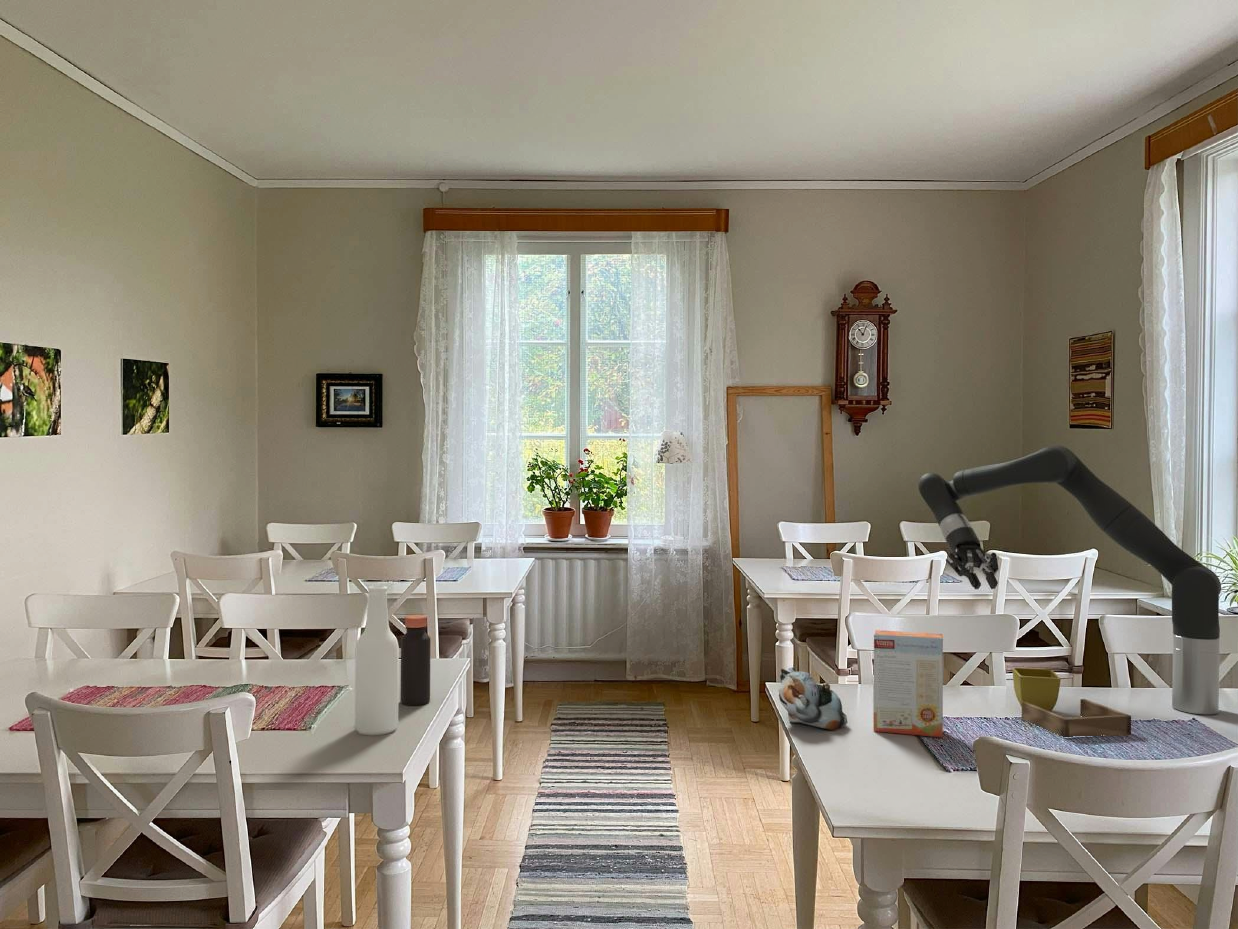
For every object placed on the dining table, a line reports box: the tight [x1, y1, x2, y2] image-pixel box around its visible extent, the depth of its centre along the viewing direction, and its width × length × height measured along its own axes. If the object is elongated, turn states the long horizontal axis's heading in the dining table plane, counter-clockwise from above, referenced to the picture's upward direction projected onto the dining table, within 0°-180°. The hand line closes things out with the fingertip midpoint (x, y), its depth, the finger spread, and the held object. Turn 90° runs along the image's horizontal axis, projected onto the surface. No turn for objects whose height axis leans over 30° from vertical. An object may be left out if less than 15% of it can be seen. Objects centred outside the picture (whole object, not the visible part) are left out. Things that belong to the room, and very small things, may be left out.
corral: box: [1021, 698, 1132, 737], centre depth 200 cm, size 14×16×4 cm
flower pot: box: [1011, 667, 1061, 712], centre depth 213 cm, size 9×9×9 cm
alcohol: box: [354, 585, 400, 736], centre depth 193 cm, size 9×9×30 cm
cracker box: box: [872, 629, 944, 738], centre depth 196 cm, size 14×6×21 cm, turn 71°
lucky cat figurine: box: [778, 667, 848, 732], centre depth 201 cm, size 15×12×14 cm
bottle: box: [399, 614, 432, 706], centre depth 216 cm, size 7×7×20 cm
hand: (986, 587), depth 231 cm, fingers open, 4 cm apart
